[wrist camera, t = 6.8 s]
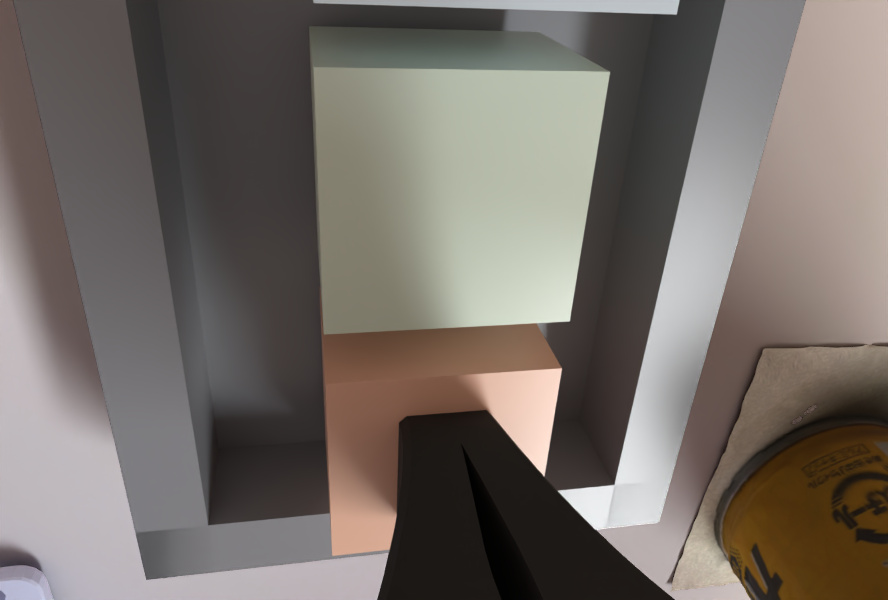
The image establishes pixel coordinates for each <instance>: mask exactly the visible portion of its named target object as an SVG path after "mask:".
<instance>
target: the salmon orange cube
mask: <svg viewBox="0 0 888 600" xmlns="http://www.w3.org/2000/svg"><path fill="white" fill-rule="evenodd" d="M319 290H320V315H321V340H322V365H323V390H324V415H325V440H326V457H327V475H328V492H329V509H330V526H331V544H332V556H337V555H346V554H355V553H364V552H373V551H382V550H390V546H391V541H392V537H393V532H394V528H395V522H396V516H397V478H398V438H399V422H400V421H401V420H403V419H404V418H405V417H406V416H414V415H427V414H440V413H454V412H466V411H478V410H487V411H488V412H489V413H490V414H491V415H492V416H493V417H494V418H495V419H496V420H497V422H498V423H499V424H500V425H501V427H502V428H503V429H504V430H505V431H506V433H507V434H508V435H509V436H510V437H511V439H512V440H513V441H514V442H515V443H516V445H517V446H518V447H519V448H520V449H521V451H522V452H523V453H524V454H525V455H526V456H527V457H528V459H529V460H530V461H531V462H532V463H533V464H534V465H535V467H536V468H537V469H538V470H539V471H540V472H541V473H542V474H543V476H545V470H546V464H547V458H548V452H549V445H550V439H551V433H552V427H553V421H554V415H555V408H556V402H557V396H558V390H559V384H560V378H561V371H562V368H561V366H560V364H559V362H558V360H557V359H556V357H555V355H554V353H553V352H552V350H551V348H550V346H549V345H548V343H547V341H546V339H545V337H544V336H543V334H542V332H541V330H540V329H539V327H538V325H537V323H531V324H512V325H493V326H475V327H456V328H437V329H419V330H400V331H381V332H362V333H344V334H325V335H324V330H323V316H322V301H321V287H319Z"/></svg>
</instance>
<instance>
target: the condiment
mask: <svg viewBox="0 0 888 600" xmlns="http://www.w3.org/2000/svg"><path fill="white" fill-rule="evenodd" d="M812 405H817V406H818V407H817V408H816V409H815V410H813V411H812V412H811V413H809V414H807V415H804V412H805V411H806V410H807V409H808V408H809V407H811V406H812ZM799 416H803V418H802V420H801V421H800V422H799V423H797V424H791V422H792V421H793V420H795V419H796V418H798V417H799ZM738 582H741V584H742V585H743V587H744V588H745V590H746V592H747V594H748V596H749V597H750V599H751V600H888V347H884V346H875V345H867V344H866V345H864V346H858V347H847V348H844V347H841V348H832V347H806V348H764V350H763V353H762V355H761V358H760V360H759V363H758V365H757V369H756V374H755V376H754V379H753V381H752V384H751V386H750V388H749V390H748V391H747V393H746V395H745V398H744V401H743V404H742V409H741V413H740V416H739V419H738V421H737V422H736V424H735V426H734V428H733V431H732V433H731V435H730V438H729V441H728V446H727V448H726V451H725V453H724V454H723V455H722V457H721V460H720V464H719V466H718V468H717V469H716V472H715V474H714V476H713V478H712V480H711V482H710V484H709V486H708V489H707V491H706V493H705V496H704V498H703V501H702V504H701V507H700V509H699V513H698V515H697V518H696V520H695V522H694V524H693V528H692V530H691V533H690V535H689V537H688V539H687V541H686V544H685V547H684V552H683V555H682V557H681V559H680V560H679V562H678V566H677V568H676V572H675V575H674V578H673V582H672V590H671V591H675V590H681V589H691V588H705V587H708V586H721V585H725V584H727V583H738Z"/></svg>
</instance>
